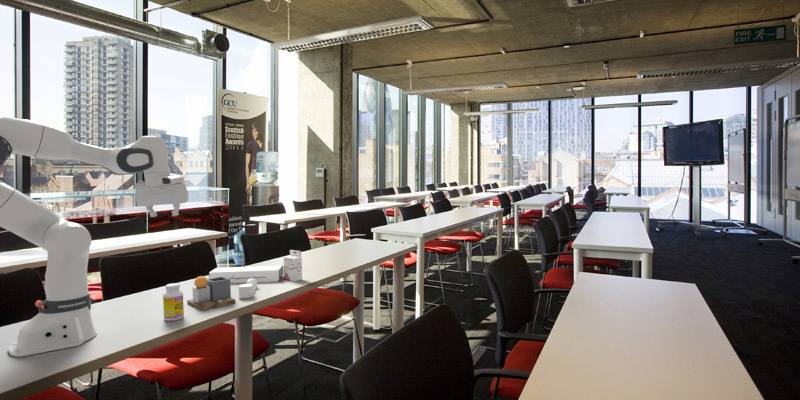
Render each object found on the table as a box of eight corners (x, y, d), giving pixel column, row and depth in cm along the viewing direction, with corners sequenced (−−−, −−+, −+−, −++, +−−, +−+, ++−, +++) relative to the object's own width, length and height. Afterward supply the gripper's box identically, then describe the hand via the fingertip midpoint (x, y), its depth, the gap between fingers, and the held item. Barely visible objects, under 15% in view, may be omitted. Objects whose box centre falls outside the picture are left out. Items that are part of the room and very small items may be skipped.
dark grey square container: (213, 301, 184) (212, 282, 183) (205, 298, 189) (205, 279, 188) (230, 297, 189) (230, 279, 189) (222, 294, 194) (222, 276, 194)
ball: (197, 290, 180) (197, 278, 180) (192, 288, 184) (192, 276, 183) (210, 288, 184) (209, 276, 184) (204, 286, 187) (204, 274, 187)
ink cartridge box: (283, 279, 227) (282, 250, 226) (290, 277, 231) (289, 249, 230) (295, 281, 222) (294, 252, 221) (302, 279, 226) (301, 250, 226)
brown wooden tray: (201, 310, 177) (201, 305, 176) (187, 303, 186) (187, 299, 186) (235, 302, 187) (235, 298, 187) (220, 296, 196) (220, 292, 196)
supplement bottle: (175, 322, 163) (174, 287, 163) (159, 321, 165) (158, 286, 164) (187, 316, 170) (186, 282, 169) (172, 315, 171) (171, 282, 170)
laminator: (209, 284, 221) (208, 272, 220) (217, 278, 233) (216, 267, 232) (279, 282, 223) (279, 269, 223) (284, 276, 236) (283, 264, 235)
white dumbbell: (251, 298, 194) (250, 286, 193) (238, 299, 193) (238, 286, 192) (258, 287, 213) (258, 275, 213) (247, 287, 212) (246, 276, 212)
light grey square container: (198, 304, 181) (197, 289, 180) (193, 301, 184) (192, 287, 184) (210, 301, 184) (209, 286, 184) (205, 299, 188) (204, 285, 187)
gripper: (128, 182, 166) (134, 218, 168) (176, 179, 161) (182, 216, 163) (141, 180, 172) (147, 215, 174) (187, 177, 167) (193, 213, 170)
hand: (164, 216), depth 169 cm, fingers open, 8 cm apart
